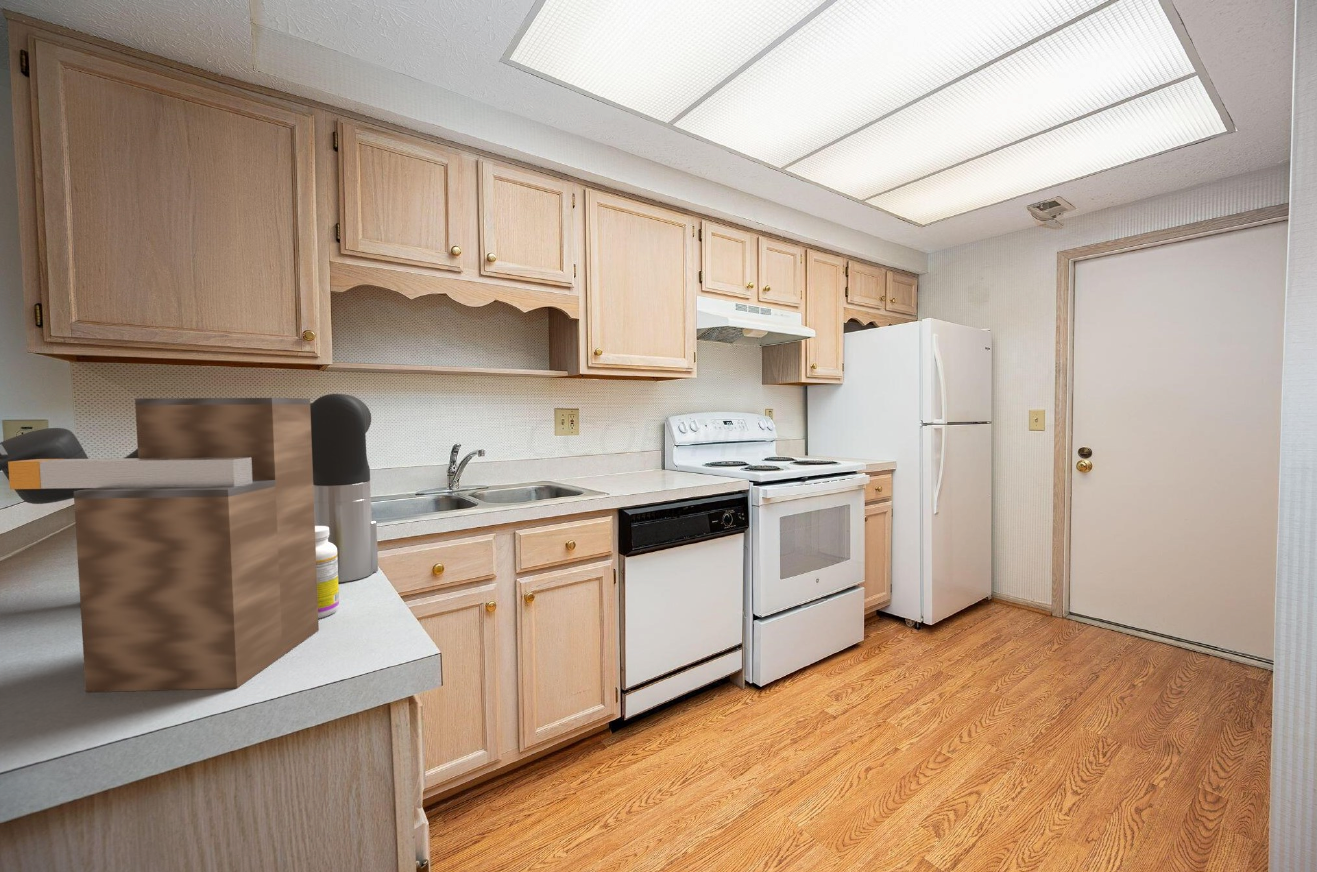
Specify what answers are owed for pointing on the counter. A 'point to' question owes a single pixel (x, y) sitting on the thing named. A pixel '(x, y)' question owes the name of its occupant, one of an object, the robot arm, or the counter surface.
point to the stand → (201, 552)
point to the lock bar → (129, 472)
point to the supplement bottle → (326, 573)
